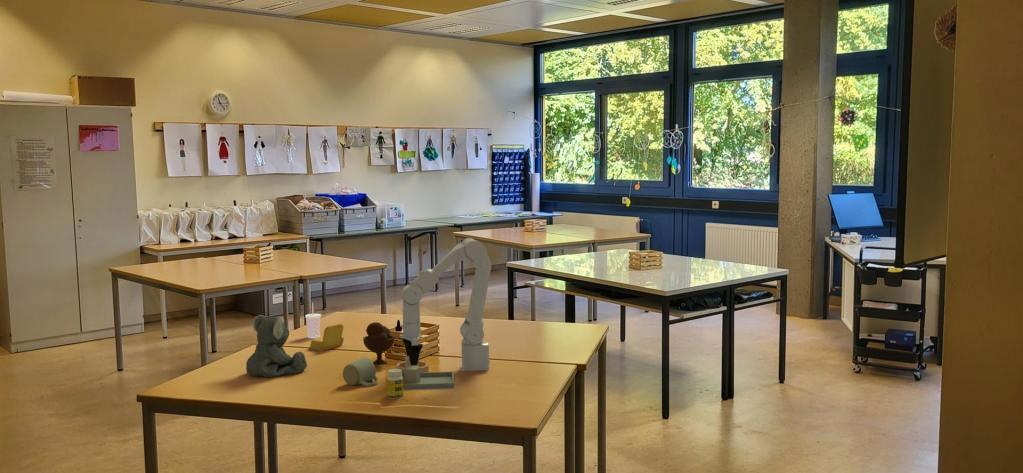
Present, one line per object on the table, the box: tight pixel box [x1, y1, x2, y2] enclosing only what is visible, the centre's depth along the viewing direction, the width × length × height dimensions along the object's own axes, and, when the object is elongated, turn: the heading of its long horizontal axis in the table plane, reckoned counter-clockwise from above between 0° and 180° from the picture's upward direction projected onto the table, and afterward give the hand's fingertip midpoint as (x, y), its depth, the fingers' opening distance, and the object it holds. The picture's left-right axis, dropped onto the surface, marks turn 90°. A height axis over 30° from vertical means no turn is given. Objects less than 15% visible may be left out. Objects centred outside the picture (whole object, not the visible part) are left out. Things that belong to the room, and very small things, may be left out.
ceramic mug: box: [342, 357, 379, 387], centre depth 248 cm, size 11×8×8 cm
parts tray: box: [401, 371, 455, 392], centre depth 249 cm, size 17×17×2 cm
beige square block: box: [404, 366, 420, 384], centre depth 247 cm, size 4×4×5 cm
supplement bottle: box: [386, 368, 404, 400], centre depth 234 cm, size 5×5×8 cm
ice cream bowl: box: [362, 321, 395, 366], centre depth 272 cm, size 11×11×15 cm
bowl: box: [395, 360, 430, 373], centre depth 260 cm, size 11×11×3 cm
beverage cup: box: [305, 302, 322, 339], centre depth 314 cm, size 6×6×14 cm
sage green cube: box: [404, 355, 420, 368], centre depth 260 cm, size 4×4×5 cm
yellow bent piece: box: [309, 323, 345, 351], centre depth 298 cm, size 10×10×9 cm
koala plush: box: [245, 314, 308, 378], centre depth 263 cm, size 17×18×20 cm
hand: (412, 361), depth 260 cm, fingers open, 7 cm apart
